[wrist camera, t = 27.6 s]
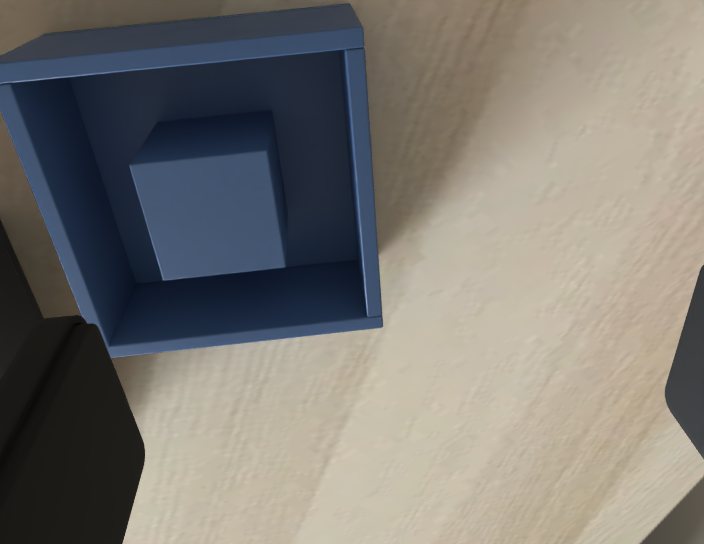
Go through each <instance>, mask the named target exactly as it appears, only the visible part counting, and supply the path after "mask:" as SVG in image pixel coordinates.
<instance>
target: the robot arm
mask: <svg viewBox="0 0 704 544" xmlns="http://www.w3.org/2000/svg"><path fill="white" fill-rule="evenodd" d="M665 398H666V403H667V405H668V408H669V410H670V411H671V413H672V414H673V416H674V417H675V419H676V420H677V421H678V423H679V424H680V426H681V427H682V429H683V430H684V431H685V433H686V434H687V436H688V437H689V439H690V440H691V442H692V443H693V444H694V446H695V447H696V449H697V450H698V452H699V453H700V454H701V456H702V457H703V459H704V265H703V266H702V268H701V270H700V273H699V276H698V279H697V283H696V286H695V289H694V293H693V296H692V300H691V303H690V306H689V310H688V313H687V316H686V320H685V323H684V326H683V330H682V333H681V336H680V340H679V343H678V347H677V350H676V353H675V357H674V360H673V363H672V367H671V370H670V373H669V377H668V380H667V384H666V387H665ZM144 462H145V448H144V443H143V440H142V437H141V434H140V432H139V429H138V427H137V424H136V422H135V419H134V417H133V414H132V411H131V409H130V406H129V404H128V401H127V399H126V396H125V393H124V391H123V388H122V386H121V383H120V381H119V378H118V376H117V373H116V370H115V368H114V365H113V363H112V360H111V358H110V355H109V352H108V350H107V347H106V345H105V342H104V340H103V337H102V335H101V332H100V330H99V328H98V326H97V325H96V324H93V323H90V324H87V322H86V320H85V319H84V318H83V317H82V316H79V315H74V316H64V317H54V318H44V319H40V320H38V321H37V322H36V323H35V324H34V326H33V327H32V329H31V331H30V332H29V334H28V336H27V337H26V339H25V341H24V342H23V344H22V345H21V347H20V349H19V350H18V352H17V354H16V355H15V357H14V359H13V360H12V362H11V363H10V365H9V367H8V368H7V370H6V372H5V373H4V375H3V377H2V378H1V380H0V544H122V543H123V540H124V536H125V532H126V529H127V525H128V521H129V518H130V514H131V510H132V507H133V503H134V499H135V496H136V492H137V488H138V485H139V481H140V478H141V474H142V470H143V467H144Z"/></svg>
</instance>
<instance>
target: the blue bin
mask: <svg viewBox="0 0 704 544" xmlns="http://www.w3.org/2000/svg"><path fill="white" fill-rule="evenodd" d="M270 110H271V111H272V112H273V119H274V125H275V132H276V138H277V145H278V152H279V158H280V165H281V171H282V178H283V184H284V191H285V197H286V204H287V210H288V225H287V255H286V267H282V268H273V269H264V270H255V271H246V272H237V273H227V274H218V275H209V276H200V277H191V278H182V279H173V280H163V278H162V275H161V271H160V268H159V264H158V261H157V258H156V254H155V251H154V248H153V244H152V241H151V237H150V234H149V231H148V227H147V224H146V220H145V217H144V214H143V210H142V207H141V204H140V200H139V197H138V193H137V190H136V187H135V183H134V180H133V177H132V173H131V170H130V166H129V164H130V163H131V161H132V160H133V158H134V157H135V155H136V154H137V152H138V151H139V149H140V148H141V146H142V145H143V143H144V141H145V140H146V138H147V137H148V135H149V134H150V132H151V131H152V129H153V128H154V126H155V125H156V123H157V122H164V121H173V120H183V119H193V118H202V117H212V116H222V115H231V114H241V113H251V112H260V111H270ZM0 111H1V113H2V116H3V118H4V121H5V123H6V126H7V128H8V131H9V133H10V136H11V139H12V141H13V144H14V146H15V149H16V151H17V154H18V156H19V159H20V161H21V164H22V166H23V169H24V171H25V174H26V176H27V179H28V181H29V184H30V186H31V189H32V192H33V194H34V197H35V199H36V202H37V204H38V207H39V209H40V212H41V214H42V217H43V219H44V222H45V224H46V227H47V229H48V232H49V234H50V237H51V239H52V242H53V244H54V247H55V250H56V252H57V255H58V257H59V260H60V262H61V265H62V267H63V270H64V272H65V275H66V277H67V280H68V282H69V285H70V287H71V290H72V292H73V295H74V297H75V300H76V302H77V305H78V308H79V310H80V313H81V315H82V317H83V318H84V319H85V320H86V322H87V324H90V323H93V324H96V325H97V326H98V328H99V330H100V332H101V335H102V337H103V340H104V342H105V345H106V347H107V350H108V352H109V355H110V358H115V357H123V356H132V355H141V354H150V353H159V352H168V351H177V350H186V349H195V348H204V347H213V346H222V345H231V344H240V343H249V342H258V341H267V340H276V339H285V338H294V337H303V336H312V335H321V334H329V333H338V332H347V331H356V330H365V329H374V328H382V327H383V318H382V303H381V288H380V273H379V258H378V243H377V227H376V212H375V197H374V182H373V167H372V152H371V137H370V122H369V107H368V92H367V77H366V61H365V49H364V31H363V27H362V25H361V23H360V21H359V19H358V17H357V15H356V14H355V12H354V10H353V8H352V6H351V4H339V5H329V6H319V7H309V8H299V9H289V10H279V11H269V12H258V13H248V14H238V15H228V16H218V17H208V18H198V19H188V20H178V21H168V22H157V23H147V24H137V25H127V26H117V27H107V28H97V29H87V30H77V31H67V32H56V33H46V34H43V35H41V36H39V37H37V38H35V39H33V40H31V41H29V42H27V43H25V44H23V45H21V46H19V47H17V48H15V49H13V50H11V51H9V52H7V53H5V54H3V55H1V56H0Z"/></svg>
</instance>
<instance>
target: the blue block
mask: <svg viewBox="0 0 704 544" xmlns="http://www.w3.org/2000/svg"><path fill="white" fill-rule="evenodd" d="M129 166H130V170H131V173H132V177H133V180H134V183H135V187H136V190H137V193H138V197H139V200H140V204H141V207H142V210H143V214H144V217H145V220H146V224H147V227H148V231H149V234H150V237H151V241H152V244H153V248H154V251H155V254H156V258H157V261H158V264H159V268H160V271H161V275H162V278H163V280H173V279H182V278H191V277H200V276H209V275H218V274H227V273H237V272H246V271H255V270H264V269H273V268H282V267H286V255H287V225H288V210H287V204H286V197H285V191H284V184H283V178H282V171H281V165H280V158H279V152H278V145H277V138H276V132H275V125H274V119H273V112H272V111H271V110H270V111H260V112H251V113H241V114H231V115H222V116H212V117H202V118H193V119H183V120H173V121H164V122H157V123H156V125H155V126H154V128H153V129H152V131H151V132H150V134H149V135H148V137H147V138H146V140H145V141H144V143H143V145H142V146H141V148H140V149H139V151H138V152H137V154H136V155H135V157H134V158H133V160H132V161H131V163H130V164H129Z"/></svg>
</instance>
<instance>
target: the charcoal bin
mask: <svg viewBox="0 0 704 544" xmlns="http://www.w3.org/2000/svg"><path fill="white" fill-rule="evenodd" d="M40 319H43V317H42V314H41V312H40V310H39V308H38V305H37V303H36V301H35V299H34V296H33V294H32V292H31V289H30V287H29V285H28V283H27V280H26V278H25V276H24V274H23V271H22V269H21V267H20V264H19V262H18V260H17V258H16V255H15V253H14V251H13V249H12V246H11V244H10V242H9V239H8V237H7V235H6V233H5V230H4V228H3V226H2V224H1V221H0V380H1V378H2V377H3V375H4V373H5V372H6V370H7V368H8V367H9V365H10V363H11V362H12V360H13V359H14V357H15V355H16V354H17V352H18V350H19V349H20V347H21V345H22V344H23V342H24V341H25V339H26V337H27V336H28V334H29V332H30V331H31V329H32V327H33V326H34V324H35V323H36V322H37V321H38V320H40Z"/></svg>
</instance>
